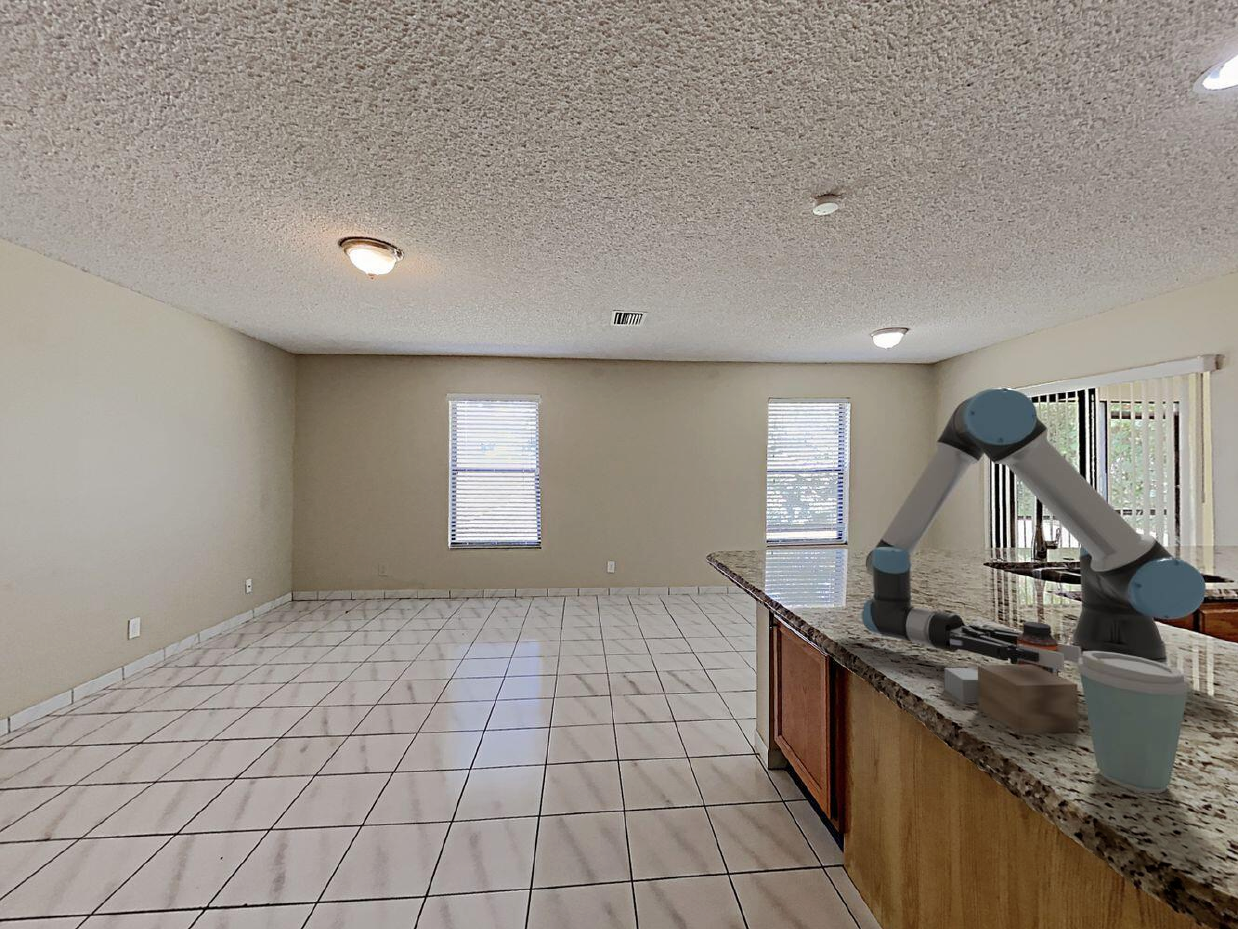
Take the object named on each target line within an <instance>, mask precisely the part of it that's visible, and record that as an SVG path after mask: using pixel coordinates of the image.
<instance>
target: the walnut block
mask: <svg viewBox="0 0 1238 929" xmlns="http://www.w3.org/2000/svg"><path fill="white" fill-rule="evenodd" d="M977 668H978V699H979V703H978V710H980V711H981V712H983V713H985V714H986V715H988V716H990V717H992V719H995V720H996V721H998V722H1000V724H1003V725H1004V726H1006V727H1008V728H1009V729H1012V730H1013V731H1014V732H1016V733H1018V734H1021V735H1022V734H1054V733H1055V734H1056V733H1059V734H1060V733H1062V734H1064V733H1080V722H1079V719H1080V718H1079V717H1080V716H1079V693H1078V692H1079V691H1078V690H1079V689H1078V686H1079V685H1078V684H1077V683H1075V682H1074V681H1071V680H1069V679H1067V678H1064V677H1062V676H1059V675H1058V676H1057V675H1055V674H1053V673H1050V672H1048V671H1046V670H1043V669H1041V668H1039V667H1036V666H1034V665H1032V664H1029V665H1017V664H993V665H992V664H989V665H987V664H986V665H984V664H983V665H977Z"/></svg>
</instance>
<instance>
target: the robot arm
mask: <svg viewBox="0 0 1238 929" xmlns="http://www.w3.org/2000/svg"><path fill="white" fill-rule="evenodd" d="M1037 413H1038V412H1037V408H1036V406H1035V404H1034V403H1033V401H1032V399H1030V397H1028V396H1027V395H1026V394H1024V393H1023V392H1021V391H1019V390H1017V389H1013V388H1008V387H994V388H988V389H985V390H982V391H979V392H978V393H976V394H975V395H973V396H971V397H969V398H967V399H965V400H964V401H962V402H961V403H960V404H959V405H957V407H956V408H955V409H954V411H952V414H951V416H950V418H949V420H948V422H947V423H946V425H945V427H944V429H943V431H942V432H941V434H940V436H939V438H938V440H937V441H936V443H935V446H936V451H935V453H934V455H933V456H932V458H931V459H930V461H929V462H928V464H926V467H925V469H924V471H923V472H922V473H921V475H920V476H919V478H918V480H917V481H916V483H915V484H914V486H913V488H912V489H911V491H910V492H909V493H908V495H907V497H906V498H905V500H904V501H903V503H902V505H901V507H900V508H899V509H898V511H897V513H896V514H895V516H894V518H893V519H892V521H891V522H890V524H889V526H887V528H886V530H885V532H884V533H883V535H882V536H881V538H880V540H879V542H878V543H877V544H876V545H875V548H874V549H872V550H870V551H869V552H868V553H867V556H866V559H865V568H866V570H867V572H868V574H869V575H870V576H871V577H872V584H873V585H872V586H873V597H872V598H869V599H867V600H866V601H865V603H864V604H863V606H862V607H863V609H862V611H861V620H862V623H863V624H862V625H863V626H864V627H865V629H867V630H868V631H870V632H873V633H875V634H878V635H881V636H883V637H890V638H893V639H899V640H901V641H902V640H903V641H907V642H910V643H911V642H912V643H914V644H920V647H922V648H926V647H931V648H932V647H933V648H935V649H938V650H942V651H946V652H951V653H955V652H957V651H959V650H961V651H965V652H969V653H973V654H977V655H980V656H985V657H988V658H992V659H996V660H1001V661H1003V662H1007V661H1009V660H1010V665H1017V658H1019V660H1020V661H1024V662H1029V663H1033V664H1037V665H1042V666H1046V667H1050V668H1054V669H1058V671H1064V670H1065V661H1067V662H1073V663H1075V664H1076V663H1077V664H1078V659H1079V658H1082V649H1083V650H1086V651H1102V652H1112V653H1119V654H1124V655H1130V656H1136V657H1141V658H1145V659H1148V660H1159V659H1163V658H1165V657H1166V656H1167V654H1166V653H1167V652H1166V643H1165V641H1163V640H1162V636H1161V633H1160V631H1159V628H1158V626H1157V623H1156V621H1155V619H1154V618H1157V619H1161V620H1177V619H1181V618H1184V617H1187V616H1189V615H1191V614H1192V613H1194V612H1195V611H1196V610H1197V609H1198V608H1200V606H1201V605H1202V604H1203V602H1204V599H1205V595H1206V591H1207V588H1206V582H1205V579H1204V577H1203V575H1202V574H1201V572H1200V571H1199V570H1198V569H1197V568H1196V567H1195V566H1193V565H1192V564H1190V563H1188V562H1187V561H1185V560H1183V559H1180V558H1177V557H1175V556H1173V555H1172V554H1171V553H1170V552H1169V551H1168V550H1167V549H1166V548H1165V546H1163V544H1162V543H1160V542H1159V541H1158V540H1157V539H1156V538H1155V537H1154V536H1153V535H1152V534H1151V535H1150V534H1145V533H1144V534H1143V533H1140V532H1139V533H1138V532H1137V531H1136V530H1135V529H1134V528H1133V527H1132V526H1131V525H1130V524H1129V523H1128V522H1127V521H1126V520H1125V519H1124V518H1123V516H1121V515H1120V513H1118V512H1117V510H1115V508H1113V506H1112V505H1110V503H1109V502H1108V501H1107V500H1106V499H1105V498H1104V497H1103V496H1102V495H1101V494H1100V493H1099V492H1098V491H1097V490H1096V489H1095V488H1094V487H1093V486H1092V485H1091V484H1090V482H1088V481H1087V480H1086V478H1084V476H1083V475H1082V474H1081V473H1080V472H1079V471H1078V470H1077V469H1076V468H1075V467H1074V466H1073V465H1071V463H1070V462H1069V461H1068V460H1067V459H1066V457H1064V456H1063V455H1062V454H1061V453H1060V452H1059V451H1058V449H1056V447H1054V445H1053V444H1051V443H1050V441H1049V440H1048V439H1047V437H1048V431H1049V428H1048V426H1046V425H1045V424H1044V423H1043V422H1042V421H1041V420H1040V419H1039V417H1038V414H1037ZM983 455H985V456H986V457H987V458H988V459H989V460H990V461H991V462H992V463H993V464H994V465H995V464H998V465H1004V466H1006V467H1008V469H1009V470H1010V471H1011V473H1013V474H1014V475H1015V476H1016V477H1017V478H1018V479H1019V480H1020V481H1021V483H1022V484H1023V485H1024V486H1025V487H1026V488H1027V489H1028V490H1029V491H1030V492H1031V493H1032V494H1033V496H1035V498H1037V500H1039V502H1040V503H1042V505H1043V506H1044V507H1045V508H1046V509H1047V510H1048V511H1049V512H1050V513H1051V515H1053V517H1055V519H1056V520H1057V521H1058V522H1059V523H1060V524H1061V525H1062V526H1063V527H1064V528H1065V529H1066V530H1067V532H1068V533H1069V534H1070V535H1072V537H1073V538H1074V539H1075V540H1076V541H1077V542H1078V543H1079V545H1080V550H1079V551H1080V552H1079V557H1078V560H1079V565H1080V569H1079V570H1080V592H1081V593H1080V594H1081V612H1080V615H1079V616H1078V620H1077V624H1076V627H1075V629H1074V630H1073V632H1072V644H1073V645H1072V644H1067V643H1063V642H1062V643H1061V642H1058V641H1057V643H1058V652H1055V651H1050V650H1046V649H1041V648H1036V647H1031V646H1027V645H1022V644H1019V645H1018V648H1017V637H1018V635H1019V634H1021V633H1023V631H1022V632H1021V631H1015V630H1011V629H1004V628H1000V627H994V626H992V625H991V626H990V625H988V624H984V625H982V626H980V625H977V624H968V625H966V624H965V623H964V620H963V619H962V617H961V616H960V615H959V614H957V613H954V612H953V613H951V612H946V611H942V610H940V611H939V610H936V609H933V608H927V607H921V606H916V605H915V606H914V605H912V594H911V592H912V591H911V590H912V589H911V585H912V584H911V579H912V577H911V568H912V563H911V556H912V555H913V554H914V551H915V550H916V549H917V547H918V545H919V544H920V542H921V541H922V540H923V538H924V536H926V533H927V531H928V530H929V529H930V527H931V526H932V524H933V522H934V521H935V519H936V518H937V516H938V515H939V514H940V512H941V510H942V509H943V507H944V505H945V504H946V503H947V501H948V499H950V496H951V495H952V493H954V492H953V491H955V489H956V488H957V486H958V484H959V482H960V481H961V479H962V478H963V477H964V475H965V474H966V472H967V471H968V469H969V467H970V466H971V465H972V466H973V465H975V464H978V462H979V461H980V460H981V458H982V457H983Z"/></svg>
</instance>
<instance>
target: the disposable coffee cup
mask: <svg viewBox="0 0 1238 929" xmlns="http://www.w3.org/2000/svg"><path fill="white" fill-rule="evenodd" d="M1076 673H1079V675H1080V681H1081V686H1082V692H1083V698H1084V703H1085V706H1086V707H1085V708H1086V713H1087V718H1088V723H1089V724H1088V725H1089V730H1090V736H1091V741H1092V746H1093V751H1094V756H1095V763H1096V767H1097V768H1098V770H1099V774H1100V776H1102V777H1104V778H1105V779H1106V780H1107V781H1108V782H1111V783H1113V784H1116V785H1117V786H1120V787H1123V788H1125V789H1128V790H1131V789H1132V791H1135V790H1136V792H1138V793H1139V792H1140V793H1143V792H1144V794H1145V792H1146V793H1147V794H1157V793H1158V794H1160V793H1163V792H1166V791H1167V788H1168V786H1170V784H1171V779H1172V774H1173V770H1174V764H1175V760H1176V756H1177V749H1178V744H1179V739H1180V735H1181V731H1182V730H1181V729H1182V726H1183V721H1184V716H1185V709H1186V705H1187V700H1188V695H1189V693H1190V692H1192V689H1191V683H1190V681H1189V679H1188V677H1187V676H1186V675H1185V674H1184V673H1183V672H1182V671H1181V670H1180V669H1177V668H1176V667H1173V666H1170V665H1168V664H1166V663H1163V662H1159V661H1155V660H1153V659H1145V658H1141V657H1136V656H1130V655H1124V654H1119V653H1112V652H1102V651H1089V650H1086V651H1082V656H1081V658H1079V659H1078V663H1077V664H1076Z"/></svg>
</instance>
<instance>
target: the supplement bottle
mask: <svg viewBox="0 0 1238 929" xmlns="http://www.w3.org/2000/svg"><path fill="white" fill-rule="evenodd" d="M1022 625H1023V626H1022V630H1023V631H1022V633H1021V634H1019V635H1018V637H1017V648H1018V645H1019V644H1022V645H1027V646H1031V647H1036V648H1041V649H1046V650H1050V651H1055V652H1058V643H1059V642H1058V641H1057V639H1056V638H1054V637H1053V636H1052V635H1051V634H1052V628H1051V625H1050V624H1047V623H1044V622H1037V621H1025V622H1023V624H1022ZM1057 642H1058V643H1057ZM1029 664H1032V665H1034V666H1036V667H1039V668H1041V669H1043V670H1046V671H1048V672H1050V673H1053V674H1055V675H1057V676H1059V669H1054V668H1050V667H1046V666H1042V665H1037V664H1033V663H1029V662H1024V661H1020V660H1019V658H1017V664H1016V665H1029Z"/></svg>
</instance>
